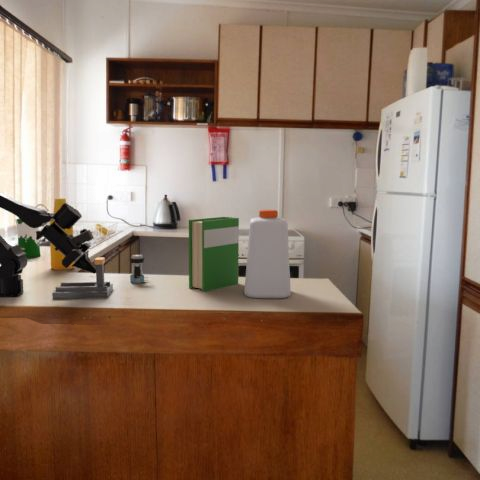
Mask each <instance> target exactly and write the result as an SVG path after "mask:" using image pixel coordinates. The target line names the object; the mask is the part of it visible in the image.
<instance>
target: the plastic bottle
mask: <svg viewBox="0 0 480 480" xmlns="http://www.w3.org/2000/svg"><path fill="white" fill-rule="evenodd" d="M258 212H259V213H258V214H259V215H258V217H253V218H251V219H250V221H249V229H248V239H247V240H248V242H247V243H248V244H247V254H246V266H245V267H246V269H245V280H244V281H245V282H244V290H243V291H244V294H245V296H246V297H248V298H252V299H285V298H288V297H289V296H290V295H291V292H292V291H291V272H290V271H291V270H290V252H289V247H290V246H289V232H288V230H289V229H288V227H289V226H288V222H287V220H286V219H285V218H282V217H279V216H278V215H279V214H278V213H279V211H278V210H276V209H260V210H259V211H258Z"/></svg>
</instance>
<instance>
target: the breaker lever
mask: <svg viewBox="0 0 480 480" xmlns="http://www.w3.org/2000/svg"><path fill="white" fill-rule="evenodd" d="M105 263H106V257H104V256H102V257H98V256H97V257H96V258H94V266H95V268H96V273H95V275H96V276H95V278H96V281H95V282H96V284H95V286H106V282H107V281H105Z"/></svg>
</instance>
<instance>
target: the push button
mask: <svg viewBox="0 0 480 480" xmlns="http://www.w3.org/2000/svg"><path fill="white" fill-rule="evenodd" d="M144 260H145V257H143V254H132V255H131V257H129V261H130V264H131V272H132V273H131V275H130V279H129V280H130V283H131V284H139V283H141V282H143V283H145V281H148V279H149V277H148V276H147V277H145V275H144V273H143V263H144V262H145V261H144Z"/></svg>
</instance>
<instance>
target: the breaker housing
mask: <svg viewBox="0 0 480 480" xmlns="http://www.w3.org/2000/svg"><path fill="white" fill-rule="evenodd" d="M105 282H106V286H95V284H96V281H73V282H72V281H71V282H70V281H69V282H68V281H65V282H60V285H59V286H56V287H55V290H53V292H52V294H51V295H52V296H51V297H52V300H62V299H63V300H65V299H66V300H69V299H70V300H71V299H81V300H82V299H108V298H109V297H110V295H111V294H112V292H113V289H114V285H113V283H111V281H105ZM111 291H112V292H111ZM108 296H109V297H108Z"/></svg>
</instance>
